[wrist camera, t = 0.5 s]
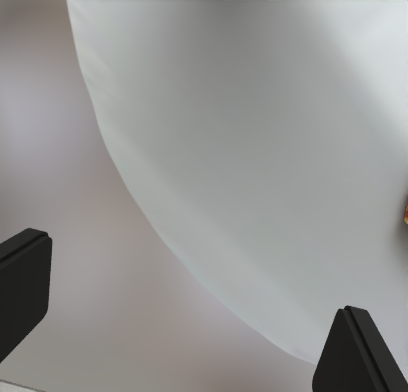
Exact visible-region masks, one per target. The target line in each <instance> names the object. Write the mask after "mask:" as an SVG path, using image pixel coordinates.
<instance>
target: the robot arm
mask: <svg viewBox="0 0 408 392" xmlns="http://www.w3.org/2000/svg"><path fill="white" fill-rule="evenodd" d="M51 256H52V239H51V238H50V237H49V236H48V233H47V232H43V231H39V230H36V229H32V228H28V229H25V230H24V231H22V232H21V233H18V234H17V235H15V236H13V237H11V238H10V239H8V240H6V241H4V242H3V243H1V244H0V363H1V362H2V361H3V360H4V359H5V358H6V357H7V356H8V355H9V354H10V352H12V351H13V349H14V348H15V347H16V346H17V345H18V344H19V343H20V342H21V341H22V340H23V339H24V338H25V337H26V336H27V335H28V334H29V333H30V331H32V329H34V327H35V326H36V325H37V324H38V323H39V322H40V321H41V320H42V319H43V318H44V316H45V315H46V313H47V310H48V301H49V286H50V271H51ZM312 390H313V392H408V383H407V381H406V380H405V378H404V376H403V374H402V372H401V371H400V369H399V367H398V365H397V363H396V362H395V360H394V358H393V356H392V354H391V352H390V351H389V349H388V347H387V345H386V343H385V342H384V340H383V338H382V336H381V334H380V333H379V331H378V329H377V327H376V325H375V323H374V322H373V320H372V318H371V316H370V314H369V313H368V311H367V310H364V309H360V308H356V307H352V306H348V305H347V306H345V308H344V309H338V311H337V313H336V316H335V318H334V321H333V324H332V327H331V329H330V332H329V335H328V338H327V340H326V343H325V346H324V349H323V351H322V354H321V357H320V360H319V362H318V365H317V368H316V371H315V373H314V376H313V381H312ZM0 392H45V391H42V390H38V389H34V388H31V387H27V386H23V385H20V384H16V383H12V382H8V381H5V380H1V379H0Z"/></svg>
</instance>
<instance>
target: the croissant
mask: <svg viewBox="0 0 408 392" xmlns="http://www.w3.org/2000/svg"><path fill="white" fill-rule="evenodd" d="M404 221H405V222H406V223H407V224H408V206H407V208H406V213H405V218H404Z"/></svg>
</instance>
